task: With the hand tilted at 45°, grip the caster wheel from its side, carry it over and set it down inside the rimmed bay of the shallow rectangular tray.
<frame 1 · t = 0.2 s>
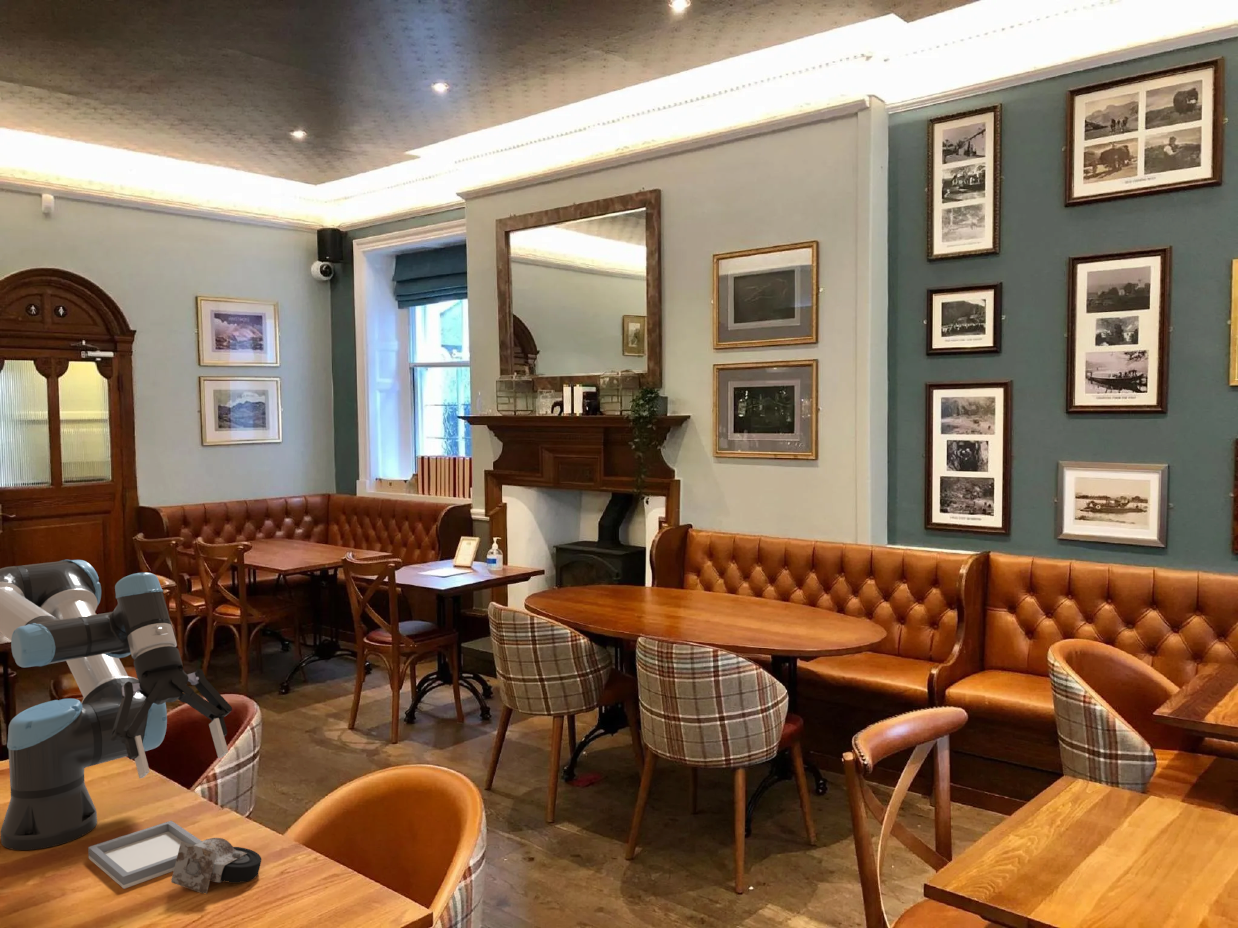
hand: (185, 764, 161), 16 cm above the table, tool tilted 35°, fingers open, 13 cm apart
caster wheel: (222, 880, 153), on the table
shallow rectangular tray: (149, 857, 160), on the table
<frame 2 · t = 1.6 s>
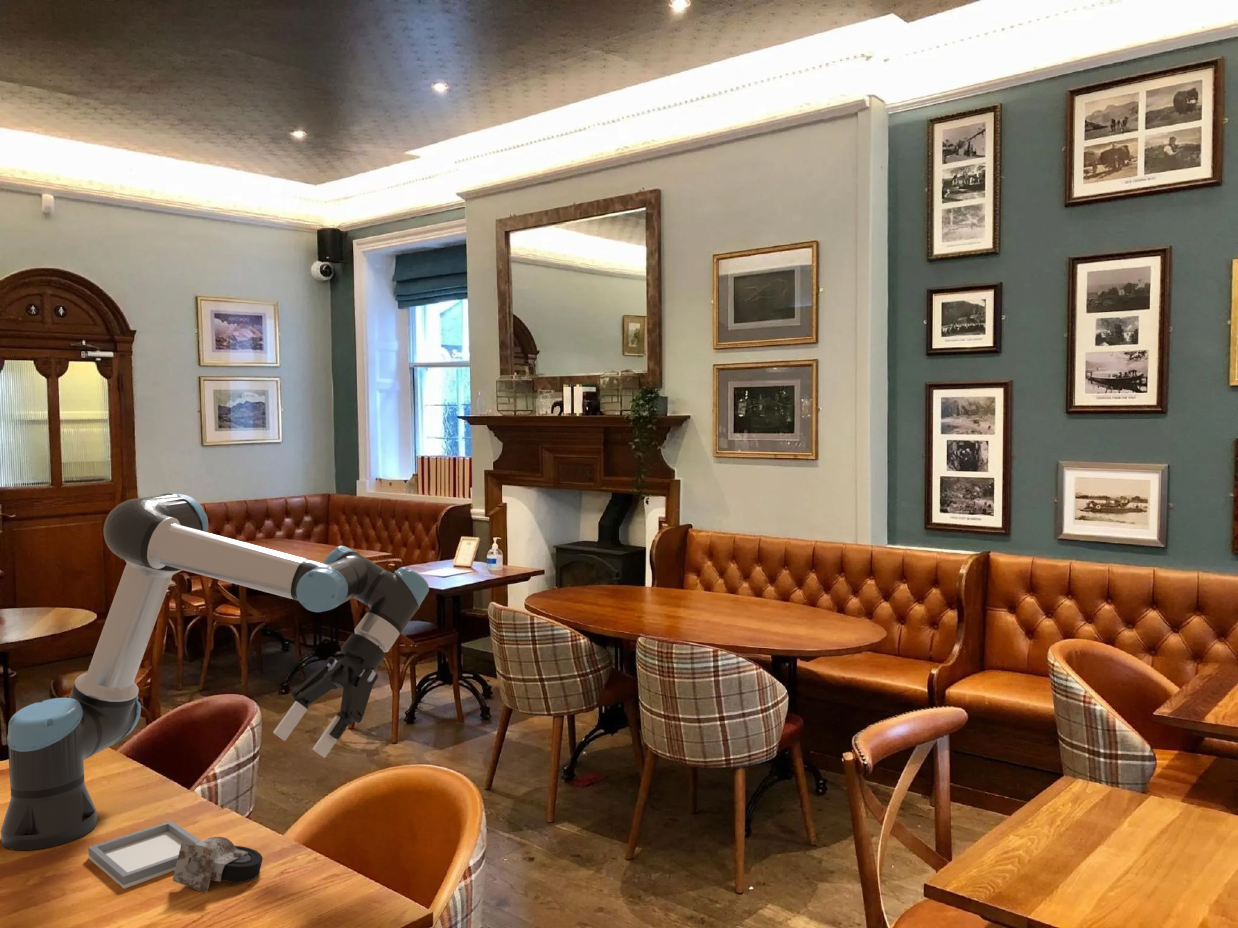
hand: (298, 744, 162), 19 cm above the table, tool tilted 45°, fingers open, 13 cm apart
nothing on the table moved.
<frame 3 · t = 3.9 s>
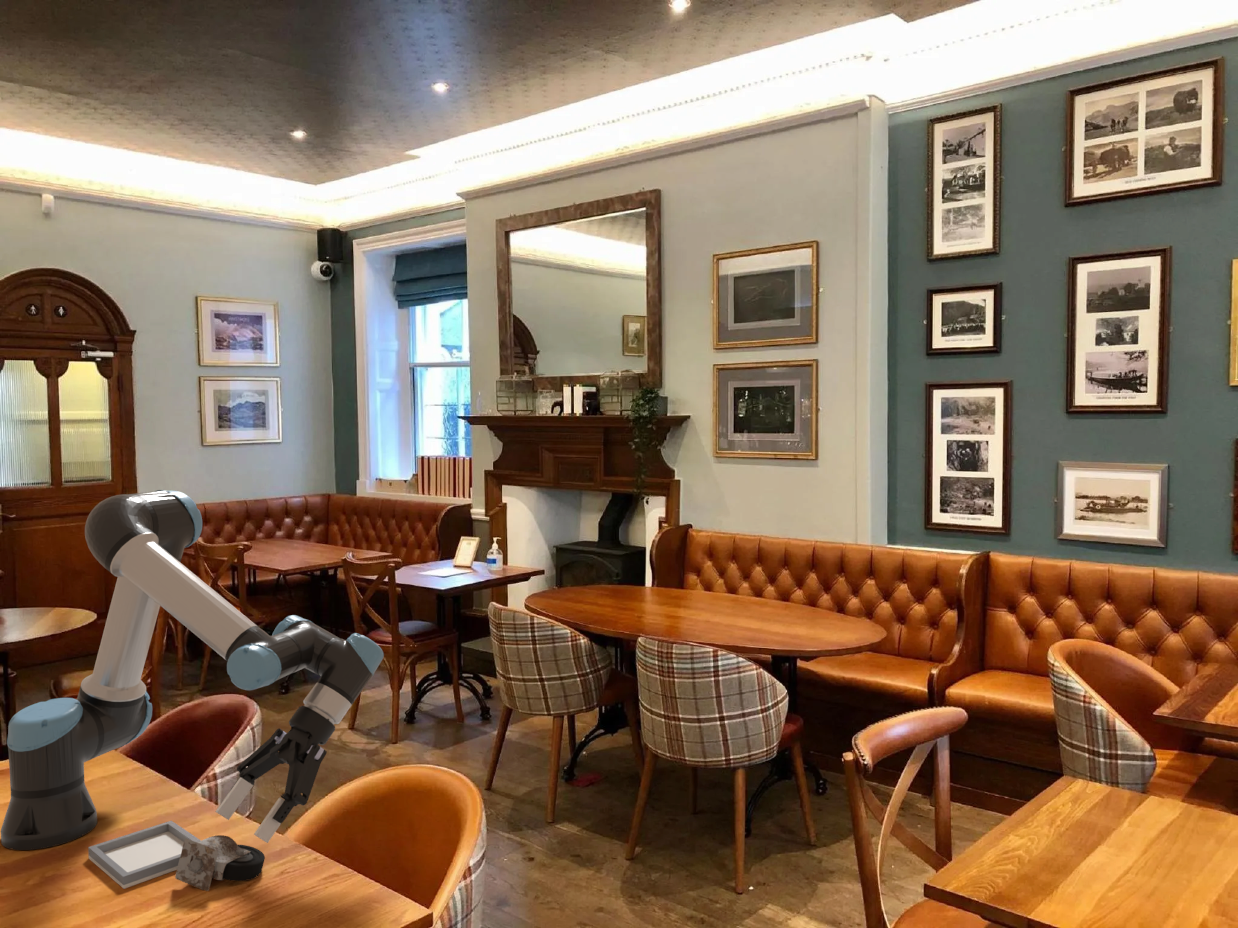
hand: (240, 827, 153), 8 cm above the table, tool tilted 45°, fingers open, 13 cm apart
nothing on the table moved.
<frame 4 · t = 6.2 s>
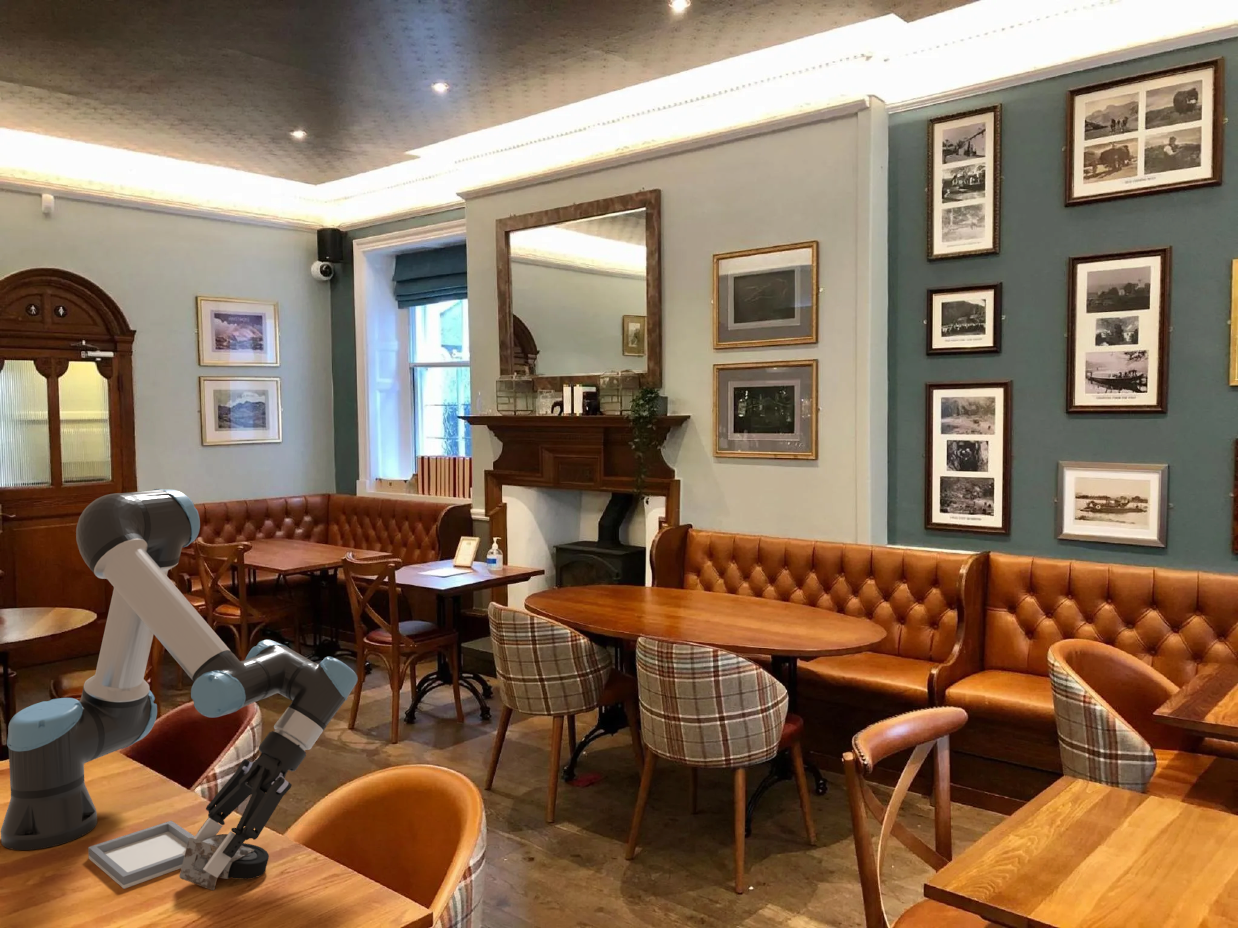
hand: (199, 865, 150), 4 cm above the table, tool tilted 45°, fingers closed on caster wheel, 7 cm apart
caster wheel: (230, 876, 153), on the table, touching gripper
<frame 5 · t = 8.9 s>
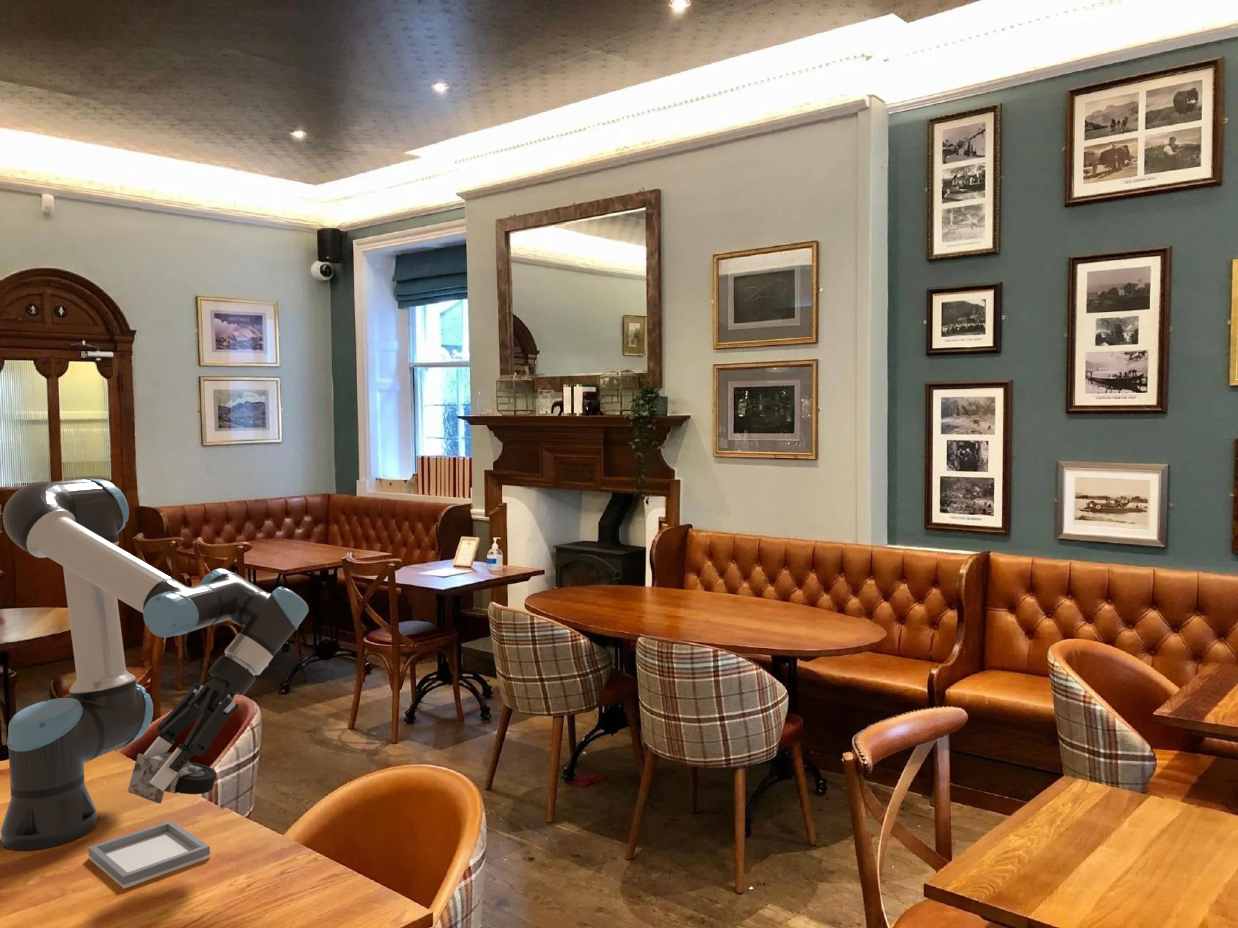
hand: (147, 780, 154), 16 cm above the table, tool tilted 45°, fingers closed on caster wheel, 7 cm apart
caster wheel: (178, 792, 158), point 12 cm above the table, touching gripper
when the fingers open (6 cm above the table, at t = 11.9 s): caster wheel drops 1 cm, resting on shallow rectangular tray.
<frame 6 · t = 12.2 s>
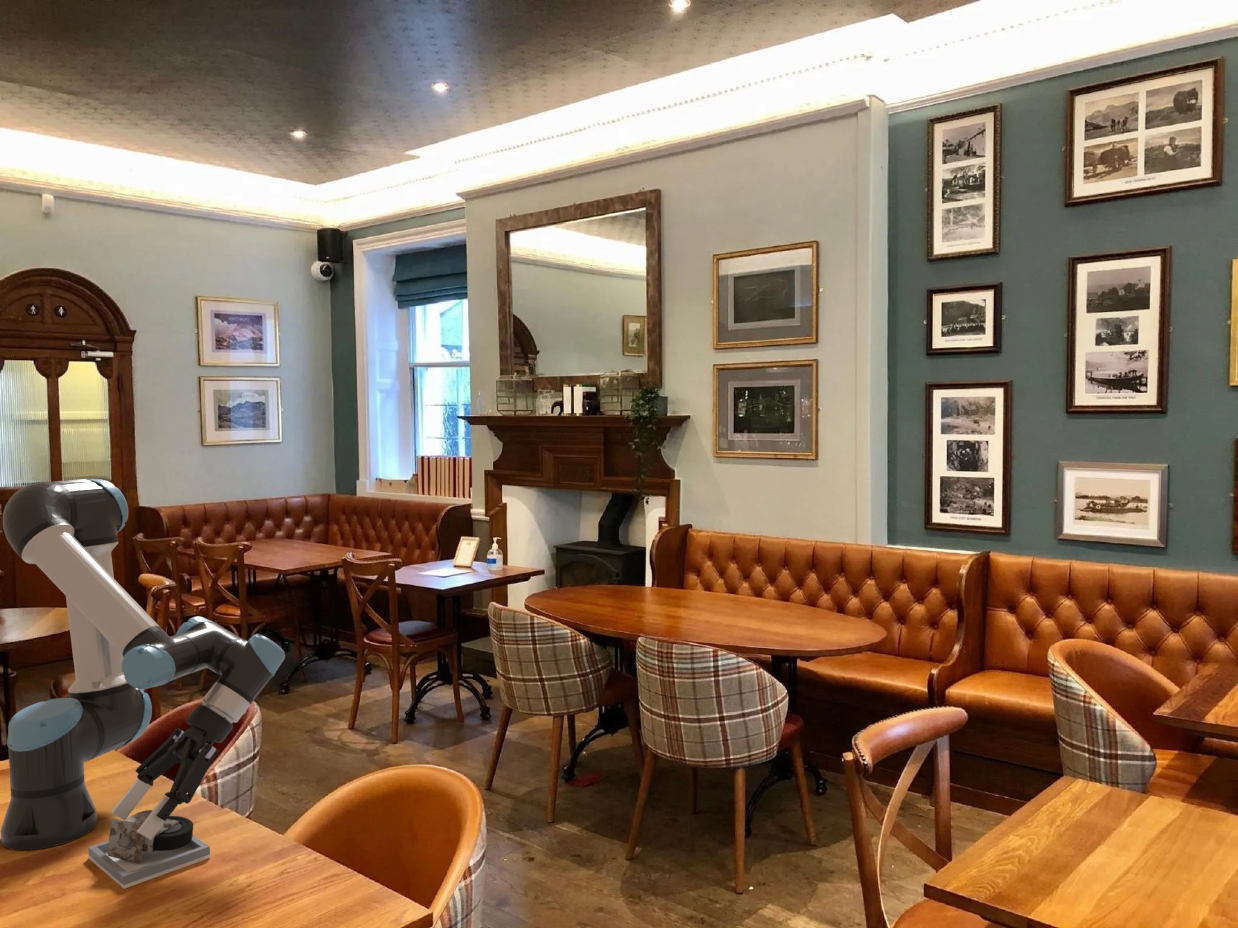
hand: (130, 825, 158), 7 cm above the table, tool tilted 45°, fingers open, 11 cm apart
caster wheel: (158, 848, 161), point 1 cm above the table, touching shallow rectangular tray
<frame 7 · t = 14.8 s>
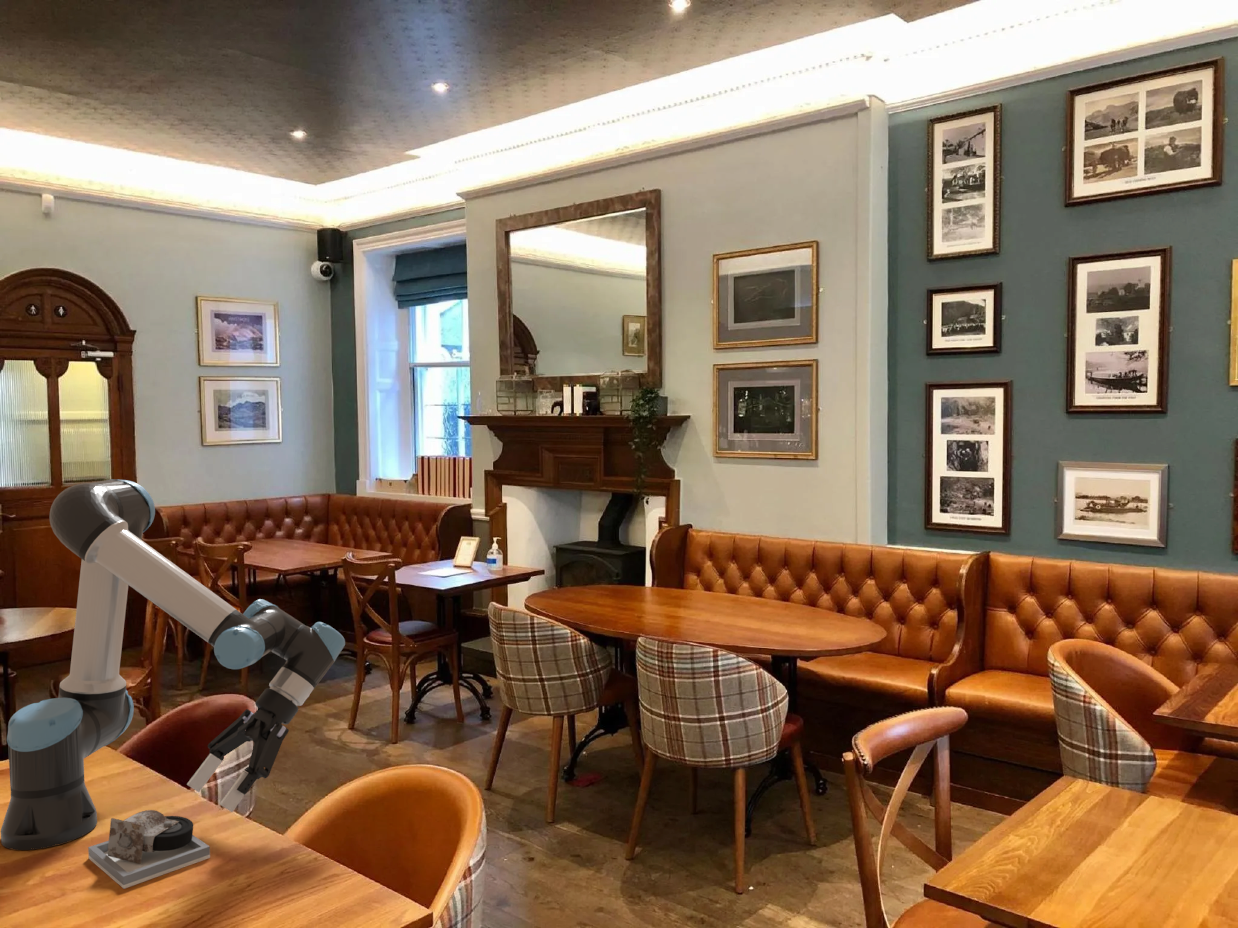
hand: (208, 798, 167), 7 cm above the table, tool tilted 45°, fingers open, 13 cm apart
nothing on the table moved.
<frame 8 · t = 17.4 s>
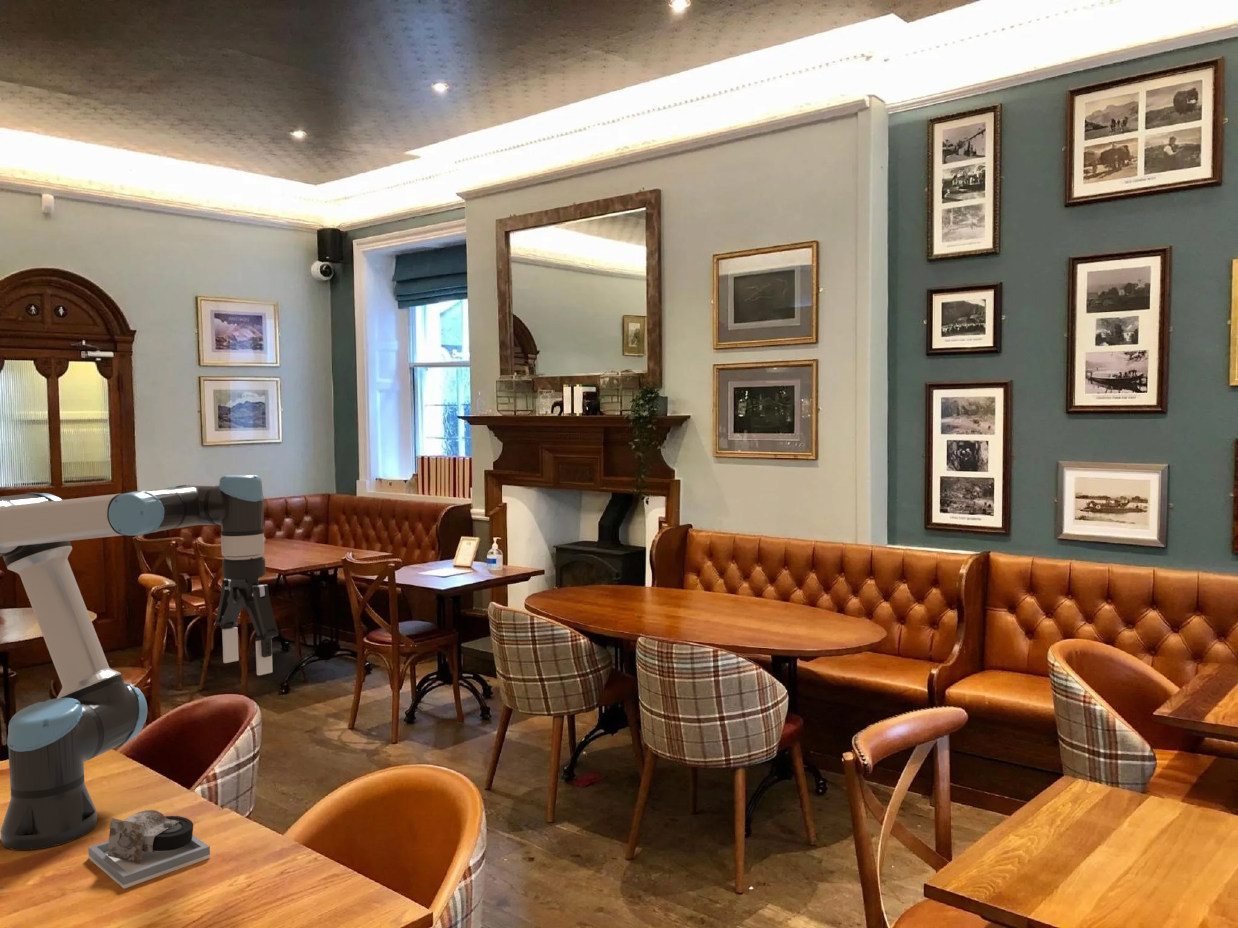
hand: (247, 667, 175), 29 cm above the table, tool pointing down, fingers open, 13 cm apart
nothing on the table moved.
at the end: caster wheel 1.6 cm off-centre on the shallow rectangular tray, point 1.1 cm above the shallow rectangular tray's base; caster wheel tilted 8°; the gripper is holding nothing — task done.
